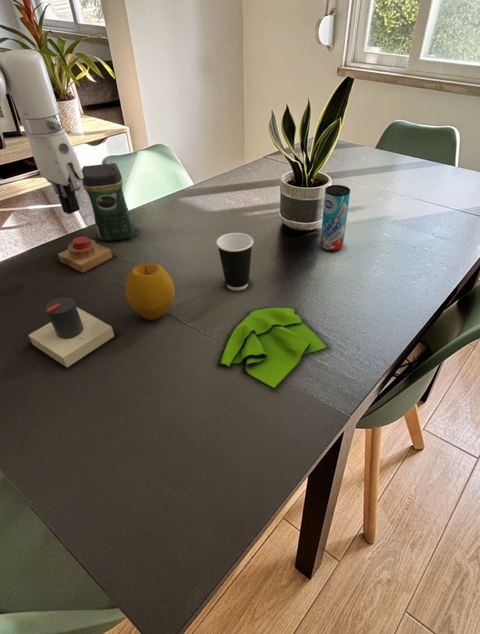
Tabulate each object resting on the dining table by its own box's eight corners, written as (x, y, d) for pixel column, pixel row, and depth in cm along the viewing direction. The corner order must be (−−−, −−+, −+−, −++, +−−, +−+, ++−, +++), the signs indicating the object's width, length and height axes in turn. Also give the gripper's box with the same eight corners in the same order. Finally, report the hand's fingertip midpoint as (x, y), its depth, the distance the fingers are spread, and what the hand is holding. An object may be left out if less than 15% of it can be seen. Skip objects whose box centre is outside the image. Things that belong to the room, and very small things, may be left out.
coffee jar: (134, 226, 120) (119, 158, 108) (135, 239, 114) (119, 168, 102) (99, 231, 118) (79, 161, 106) (98, 244, 113) (77, 172, 100)
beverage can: (315, 246, 111) (319, 189, 101) (330, 239, 114) (336, 182, 104) (332, 254, 108) (338, 196, 98) (347, 247, 111) (355, 190, 101)
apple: (165, 333, 85) (155, 284, 77) (122, 324, 87) (108, 275, 80) (186, 305, 92) (178, 257, 84) (146, 298, 94) (134, 250, 86)
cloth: (294, 302, 93) (294, 293, 91) (342, 369, 77) (343, 359, 76) (203, 323, 87) (201, 314, 86) (234, 399, 72) (234, 389, 71)
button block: (60, 261, 106) (54, 247, 104) (90, 247, 112) (85, 233, 109) (82, 273, 102) (77, 258, 100) (112, 257, 108) (108, 243, 105)
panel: (32, 344, 83) (27, 334, 81) (80, 316, 90) (76, 306, 88) (67, 367, 78) (62, 357, 76) (114, 336, 85) (111, 325, 83)
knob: (73, 319, 85) (63, 293, 81) (89, 328, 82) (79, 302, 78) (51, 332, 82) (39, 305, 78) (66, 342, 80) (54, 315, 75)
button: (71, 247, 104) (69, 241, 103) (84, 241, 106) (82, 235, 105) (80, 251, 103) (78, 245, 101) (93, 245, 105) (91, 239, 104)
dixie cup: (213, 288, 97) (208, 244, 90) (232, 272, 102) (229, 229, 95) (242, 298, 94) (240, 253, 87) (261, 281, 99) (260, 237, 92)
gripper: (81, 125, 85) (106, 213, 97) (38, 115, 92) (66, 198, 104) (48, 135, 81) (78, 225, 93) (5, 123, 87) (38, 209, 100)
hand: (72, 211), depth 99 cm, fingers closed
